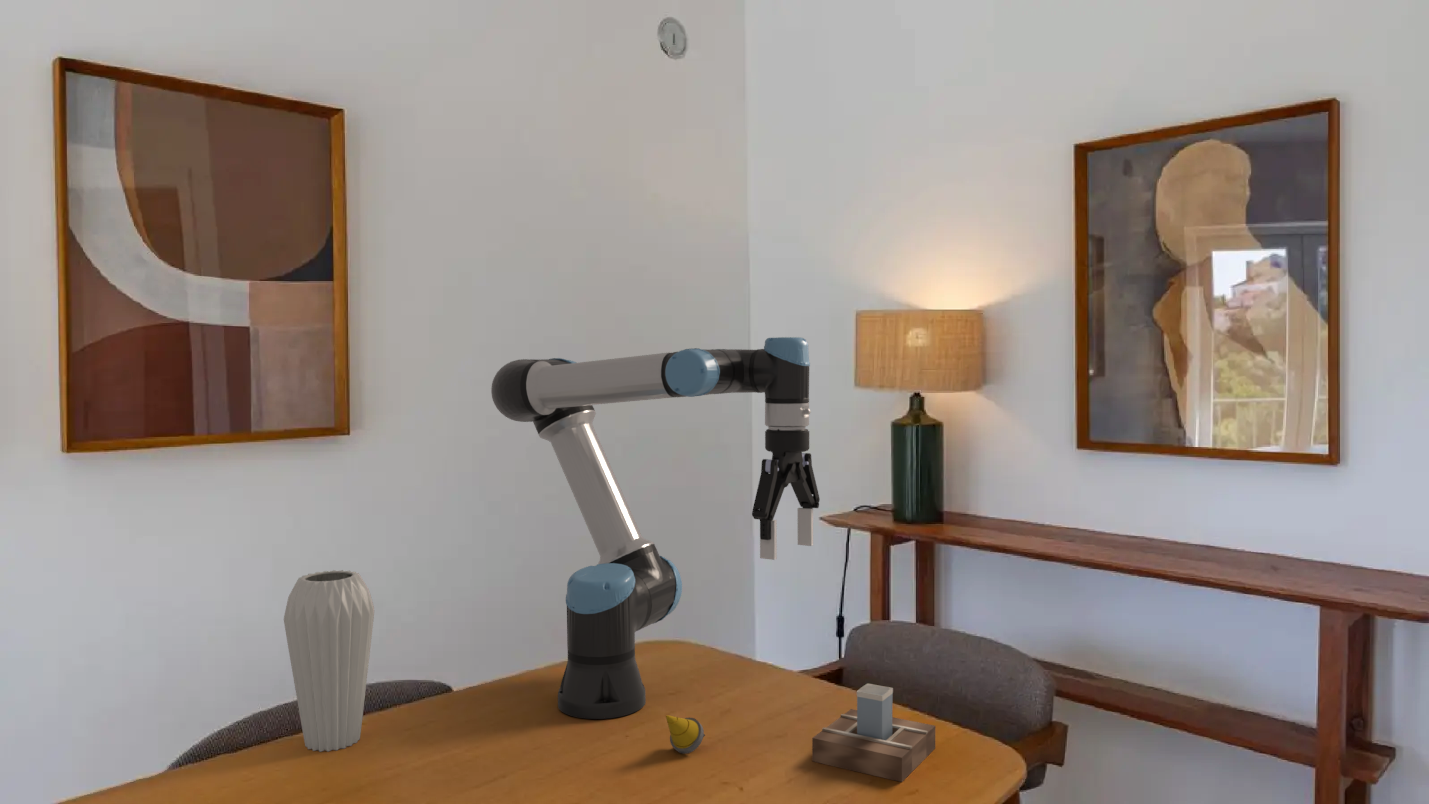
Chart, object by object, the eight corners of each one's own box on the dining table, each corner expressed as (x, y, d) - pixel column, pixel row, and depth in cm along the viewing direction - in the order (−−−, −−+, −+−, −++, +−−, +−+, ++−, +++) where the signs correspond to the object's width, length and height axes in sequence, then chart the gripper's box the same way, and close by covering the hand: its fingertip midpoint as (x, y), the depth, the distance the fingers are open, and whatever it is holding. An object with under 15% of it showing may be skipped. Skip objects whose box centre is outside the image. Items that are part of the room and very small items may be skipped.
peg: (856, 756, 148) (856, 691, 147) (867, 747, 151) (867, 683, 151) (882, 762, 145) (882, 696, 145) (892, 753, 149) (892, 687, 148)
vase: (395, 733, 158) (392, 571, 157) (331, 764, 146) (327, 589, 145) (334, 721, 164) (330, 564, 162) (267, 750, 152) (262, 581, 150)
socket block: (812, 761, 146) (812, 736, 146) (851, 730, 158) (850, 707, 158) (901, 782, 139) (901, 755, 138) (935, 748, 151) (935, 723, 150)
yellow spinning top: (714, 754, 150) (683, 725, 144) (683, 766, 151) (651, 737, 145) (709, 723, 154) (680, 693, 148) (679, 735, 155) (649, 706, 149)
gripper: (771, 433, 155) (771, 567, 156) (838, 424, 176) (838, 541, 177) (730, 432, 159) (731, 562, 160) (800, 422, 180) (801, 538, 181)
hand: (787, 551), depth 168 cm, fingers open, 13 cm apart
